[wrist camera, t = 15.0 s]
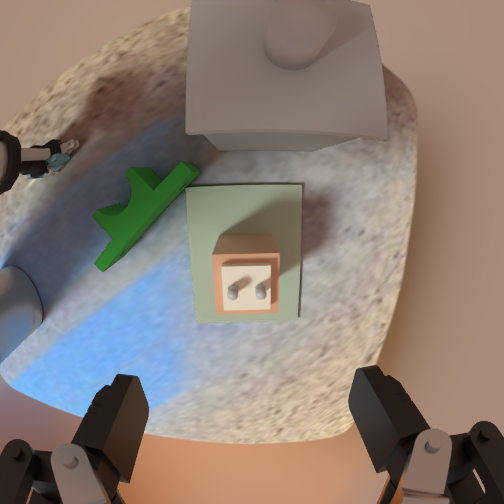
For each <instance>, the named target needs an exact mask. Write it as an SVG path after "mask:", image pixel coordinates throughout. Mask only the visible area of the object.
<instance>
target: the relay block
mask: <svg viewBox="0 0 504 504" xmlns="http://www.w3.org/2000/svg"><path fill="white" fill-rule="evenodd" d="M212 267H213V282H214V296H215V308H216V315H227V314H265V313H279V271H280V252H279V250H278V248H277V246H276V244H275V242H274V240H273V237H272V235H271V234H239V235H219V237H218V239H217V242H216V245H215V247H214V250H213V253H212Z"/></svg>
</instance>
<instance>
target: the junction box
mask: <svg viewBox="0 0 504 504" xmlns="http://www.w3.org/2000/svg"><path fill="white" fill-rule="evenodd" d="M185 132H186V133H187V134H188V135H198V134H203V135H204V136H205V137H206V138H207V139H208V140H209V141H210V142H211V143H212V144H213V145H214V146H215V147H216V148H217V149H218V150H219V151H251V150H279V151H315V150H319V149H322V148H325V147H328V146H332V145H335V144H339V143H342V142H346V141H349V140H353V139H356V138H364V139H372V140H379V141H381V140H386V139H388V121H387V107H386V96H385V86H384V78H383V70H382V64H381V58H380V51H379V46H378V40H377V35H376V31H375V26H374V21H373V17H372V13H371V9H370V6H369V5H366V4H362V3H359V2H354V1H350V0H192V3H191V12H190V24H189V37H188V52H187V73H186V117H185Z"/></svg>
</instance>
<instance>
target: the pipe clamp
mask: <svg viewBox="0 0 504 504" xmlns="http://www.w3.org/2000/svg"><path fill="white" fill-rule="evenodd" d="M200 173H201V172H200V171H199V170H198V169H197V168H196V167H195V166H194V165H193V164H192V163H187V162H182V161H181V162H180V163H179V165H178V166H177V167H176V168H175V169H174V170H173V171H172V172H171V173H170V174H169V175H168V176H167V177H166V178H165V179H164V180H163V181H162V180H161V179H160V178H159V177H158V176H157V175H156V174H155V173H154V172H153V171H152V170H151V169H150V168H142V167H131V168H130V169H129V170H128V171H127V173H126V174H125V175H126V176H127V178H128V180H129V182H130V185H131V198H130V202H129V204H128V206H127V207H126V208H125V207H123V206H122V205H121V204H119V203H118V204H115V205H111V206H108V207H104V208H101V209H98V210H97V211H96V212H95V213H94V215H93V216H92V217H93V218H94V219H95V220H96V221H97V222H98V223H99V225H100V226H101V227H102V228H103V229H104V230H105V231H106V232H107V233H108V235H109V236H110V237H111V238H112V240H111V242H110V243H109V244H108V245H107V247H106V248H105V249H104V251H103V252H102V253H101V255H100V256H99V257H98V259H97V260H96V261H95V263H94V264H95V265H96V266H97V267H98V268H99V269H100V270H101V271H102V272H104V271H106V270H107V269H108V268H109V267H111V266H112V265H113V264H115V263H116V262H117V261H118V260H120V259H121V258H122V257H123V256H124V255H125V254H126V253H127V251H128V250H129V249H130V248H131V247H132V246H133V244H134V243H135V242H136V241H137V240H138V239H139V238H140V236H141V235H142V234H143V233H144V232H145V231H146V230H147V228H148V227H149V226H150V225H151V224H152V223H153V222H154V221H155V220H156V219H157V217H158V216H159V215H160V214H161V213H162V212H163V211H164V210H165V209H166V208H167V207H168V206H169V205H170V204H171V203H172V201H173V200H174V199H175V198H176V197H177V196H178V195H179V194H180V193H181V192H182V191H183V190H184V189H185V188H186V187H187V186H188V185H189V184H190V183H191V182H192V181H193V180H194V179H195V178H196V177H197V176H198V175H199V174H200Z"/></svg>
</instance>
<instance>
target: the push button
mask: <svg viewBox="0 0 504 504" xmlns="http://www.w3.org/2000/svg"><path fill="white" fill-rule="evenodd" d="M70 142H71V143H70ZM74 143H76V146H75V147H74ZM77 147H79V142H78V140H75V141H73V139H71V140H69V141H68V142H66V143H65V142H64V143H61V140H56V139H53V140H50V141H49V142H48V143H46V144H45V145H43V146H39V145H35V146H32V147H30V148H21V144H20V142H19V140H18V138H17V137H15V136H12V135H10V134H9V133H8V132H6V131H2V130H0V184H1V185H0V195H1V194H2V193H3V192H6V191H8V190H10V189H11V188H12V186H13V184H14V183H15V181H16V180H17V178H18V176H19V174H22V175H27V176H28V179H35V178H42V177H44V176H45V177H46V176H54V175H56V174H57V173H59V171H53V170H54V169H56V168H57V167H59V166H60V165H62V164H63V163H65V162H66V161H68V160H69V159H70V156H69V154H70V153H72V150H74V149H76V148H77ZM52 171H53V172H52ZM53 173H55V174H53Z"/></svg>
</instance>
